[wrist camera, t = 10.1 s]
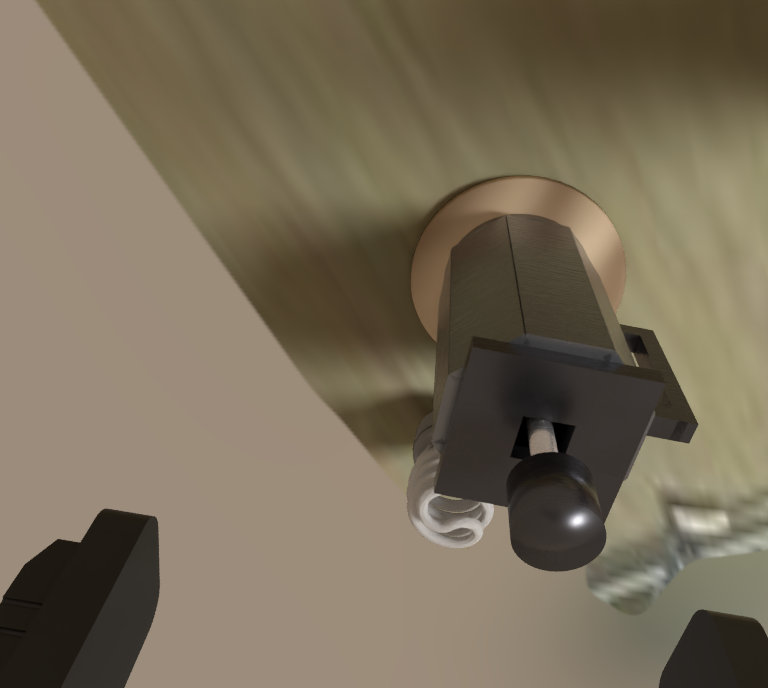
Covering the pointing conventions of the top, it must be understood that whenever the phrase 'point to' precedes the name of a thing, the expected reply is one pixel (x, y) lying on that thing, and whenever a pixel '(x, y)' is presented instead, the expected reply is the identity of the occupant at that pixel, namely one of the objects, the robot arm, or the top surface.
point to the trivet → (506, 200)
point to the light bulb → (440, 499)
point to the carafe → (541, 364)
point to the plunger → (553, 506)
